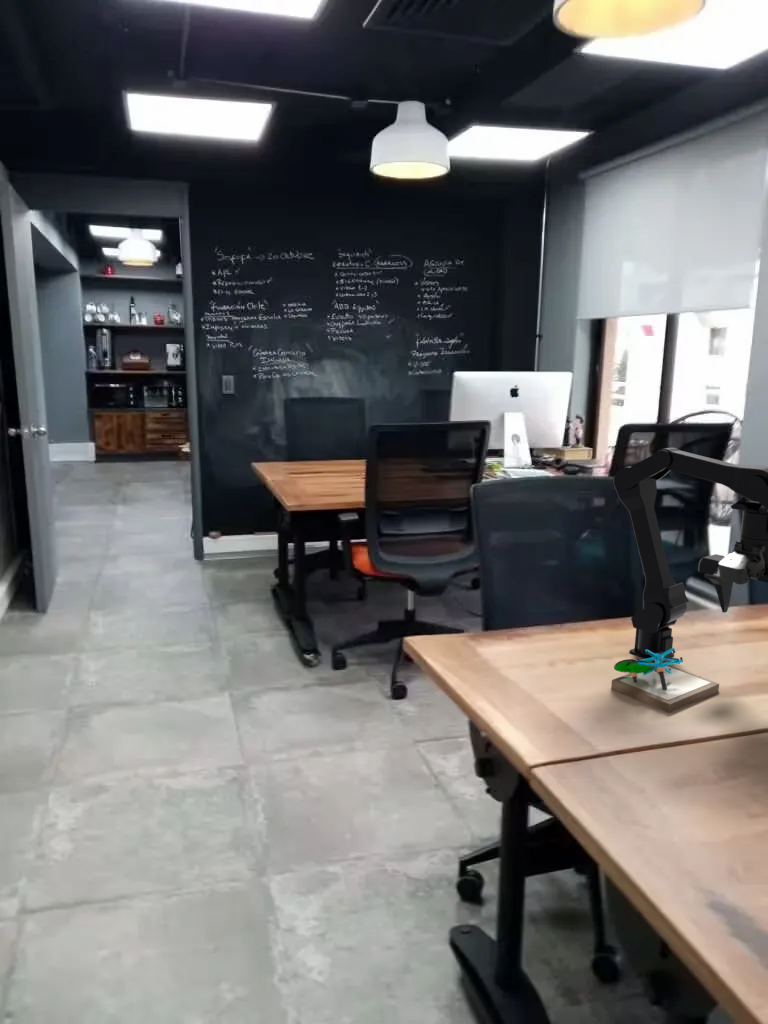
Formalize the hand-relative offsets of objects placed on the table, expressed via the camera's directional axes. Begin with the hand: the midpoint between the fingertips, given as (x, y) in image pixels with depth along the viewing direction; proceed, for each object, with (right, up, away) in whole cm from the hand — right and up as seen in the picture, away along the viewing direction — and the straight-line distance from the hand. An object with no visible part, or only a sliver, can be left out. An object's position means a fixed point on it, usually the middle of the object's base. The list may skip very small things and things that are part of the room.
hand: (748, 619), depth 140 cm
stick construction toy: (-17, -12, -1) cm, 21 cm away
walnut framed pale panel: (-16, -13, -1) cm, 20 cm away
